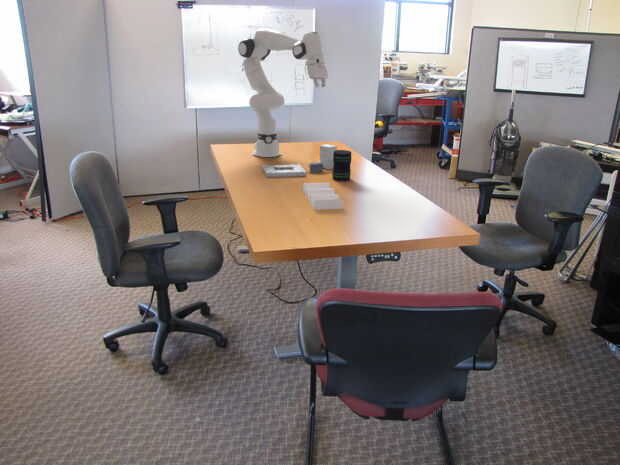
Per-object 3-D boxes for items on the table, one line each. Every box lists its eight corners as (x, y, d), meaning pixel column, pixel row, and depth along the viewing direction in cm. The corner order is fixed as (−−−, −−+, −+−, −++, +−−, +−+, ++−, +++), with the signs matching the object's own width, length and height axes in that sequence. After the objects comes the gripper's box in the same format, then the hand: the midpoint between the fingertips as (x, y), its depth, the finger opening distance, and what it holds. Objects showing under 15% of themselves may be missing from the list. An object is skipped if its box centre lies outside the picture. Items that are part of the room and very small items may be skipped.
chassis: (262, 169, 294) (262, 165, 293) (299, 168, 298) (299, 164, 297) (266, 177, 278) (266, 172, 277) (305, 176, 282) (305, 171, 281)
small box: (336, 168, 302) (337, 146, 297) (328, 169, 298) (328, 147, 293) (327, 165, 308) (327, 143, 303) (319, 166, 304) (319, 145, 299)
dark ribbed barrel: (351, 177, 282) (353, 150, 276) (348, 182, 273) (349, 154, 267) (334, 176, 284) (335, 149, 279) (330, 180, 275) (331, 152, 270)
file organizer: (327, 188, 262) (327, 179, 260) (342, 210, 230) (343, 199, 228) (301, 189, 260) (302, 179, 258) (314, 211, 228) (314, 200, 226)
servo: (307, 171, 294) (307, 161, 292) (323, 170, 296) (323, 160, 294) (308, 172, 290) (309, 162, 288) (325, 172, 292) (325, 162, 290)
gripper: (318, 63, 295) (322, 88, 298) (303, 62, 277) (308, 88, 280) (328, 61, 293) (332, 86, 295) (314, 59, 275) (318, 85, 277)
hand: (320, 87), depth 288 cm, fingers open, 8 cm apart
